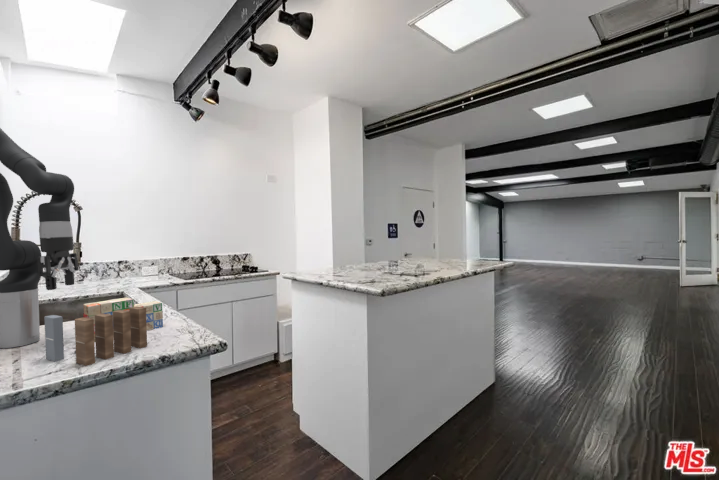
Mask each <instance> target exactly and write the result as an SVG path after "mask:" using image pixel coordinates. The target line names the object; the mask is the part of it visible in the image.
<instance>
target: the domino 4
mask: <svg viewBox="0 0 719 480" xmlns="http://www.w3.org/2000/svg"><path fill="white" fill-rule="evenodd" d="M113 334H114V338H113V340H114V353H118V354H119V353H120V354H122V355H124V354H128V353H130V352H132V346H131V324H130V311H125V310H116V311H113Z"/></svg>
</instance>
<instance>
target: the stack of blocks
mask: <svg viewBox="0 0 719 480" xmlns="http://www.w3.org/2000/svg"><path fill="white" fill-rule="evenodd" d="M134 303H135V301H134V299H133V298H130V297H122V298H113V299H108V300H102V301H96V302H95V301H94V302H88V303H83V313H82V314H83V317H85V318H90V319H94V343H96V341H95V315H97V314H102V313H104V314H110V315H113V311H116V310H125V311H129V308H131V307H136V306H137V307H144V308H146V325H147V331H150V330H151V331H152V330H155V328H156V329H159V327H160V328H163V327H164V324H163V323H164V322H163V321H164V319H163V318H164V315H163V312H164V311H163V302H161V301H156V300H152V301H148V302H147V301H145V302H141V303H135V304H134ZM113 339H114V334H113Z"/></svg>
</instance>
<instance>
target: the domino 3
mask: <svg viewBox="0 0 719 480" xmlns="http://www.w3.org/2000/svg"><path fill="white" fill-rule="evenodd" d="M95 341H96V342H95V358H99V359H102V360H109V359H111V358H114V357H115V351H114V338H113V315H110V314H104V313H102V314H97V315H95Z"/></svg>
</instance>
